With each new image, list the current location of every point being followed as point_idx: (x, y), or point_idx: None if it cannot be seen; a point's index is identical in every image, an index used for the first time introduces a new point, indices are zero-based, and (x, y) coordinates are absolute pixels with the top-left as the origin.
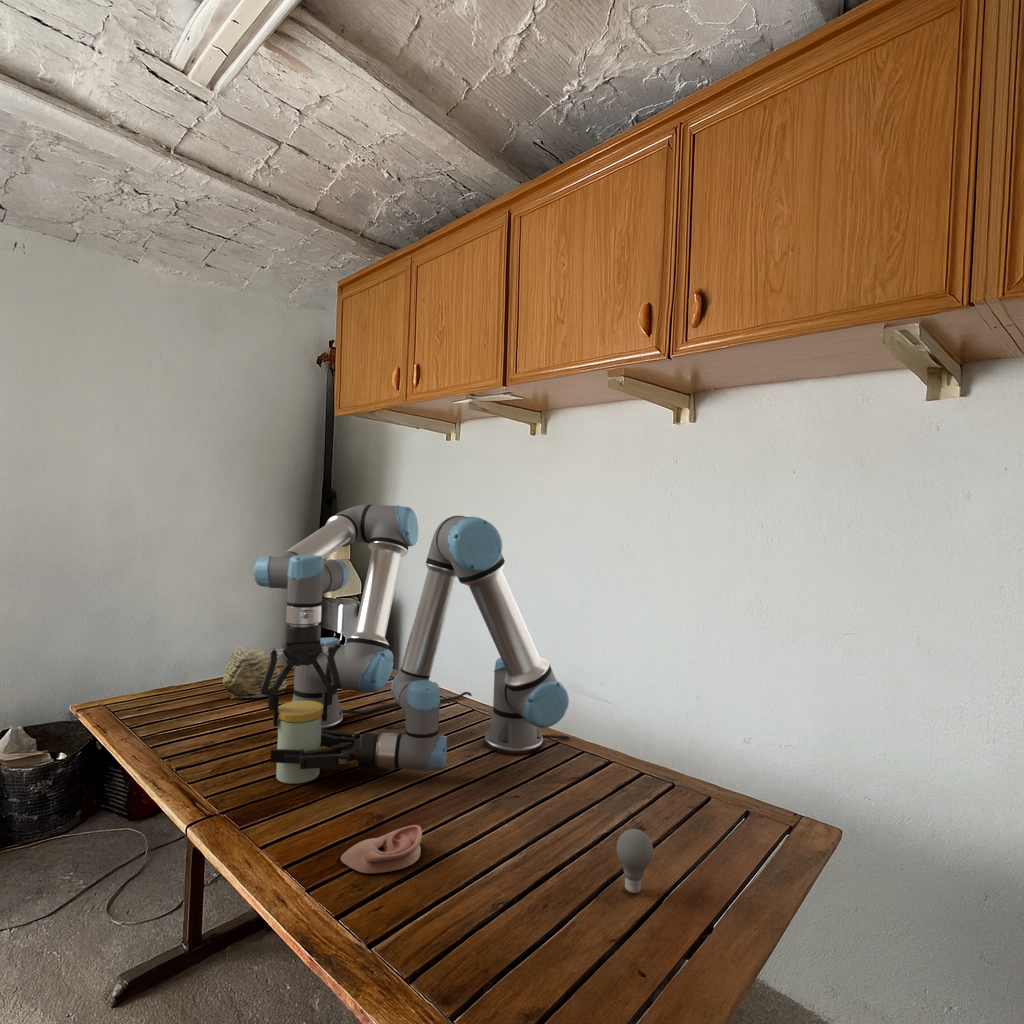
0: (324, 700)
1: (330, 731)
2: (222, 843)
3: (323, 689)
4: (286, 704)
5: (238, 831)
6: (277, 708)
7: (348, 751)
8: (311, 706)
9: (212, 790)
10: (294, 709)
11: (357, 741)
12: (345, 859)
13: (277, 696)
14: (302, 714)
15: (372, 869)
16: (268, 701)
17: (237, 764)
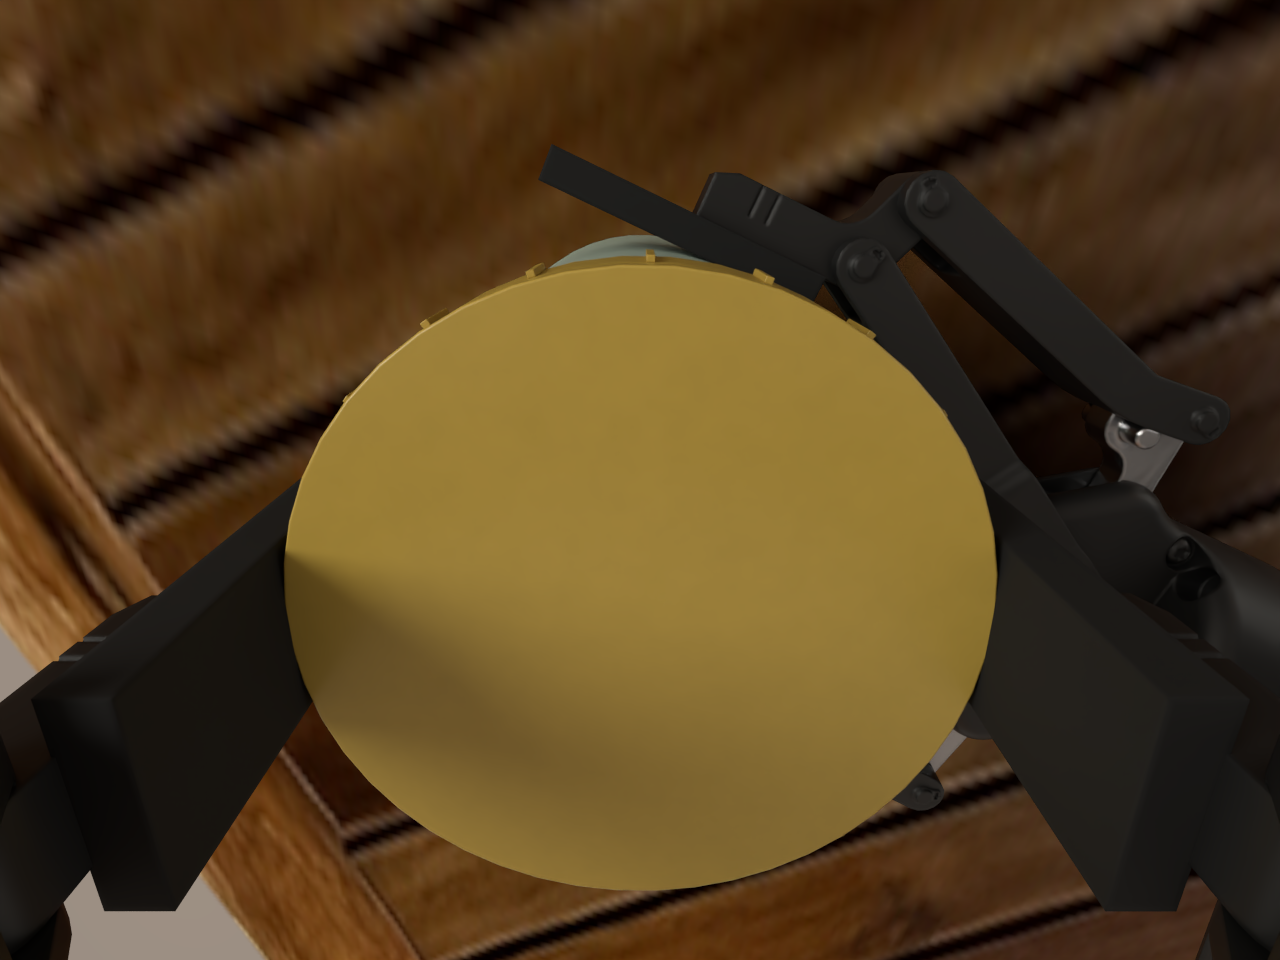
0: (1031, 785)
1: (986, 260)
2: (290, 916)
3: (1188, 700)
4: (423, 422)
5: (341, 860)
6: (273, 744)
7: (973, 734)
8: (808, 631)
9: (130, 436)
10: (542, 689)
11: (1119, 577)
12: None
13: (148, 881)
14: (630, 882)
15: None
16: (45, 673)
17: (209, 31)
